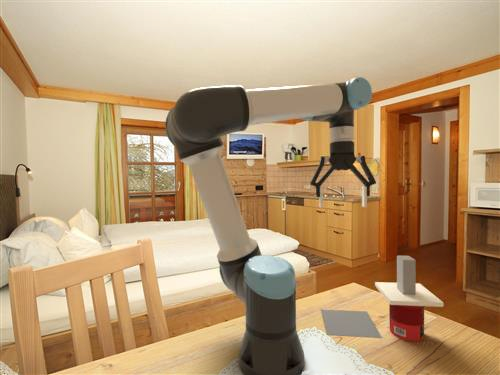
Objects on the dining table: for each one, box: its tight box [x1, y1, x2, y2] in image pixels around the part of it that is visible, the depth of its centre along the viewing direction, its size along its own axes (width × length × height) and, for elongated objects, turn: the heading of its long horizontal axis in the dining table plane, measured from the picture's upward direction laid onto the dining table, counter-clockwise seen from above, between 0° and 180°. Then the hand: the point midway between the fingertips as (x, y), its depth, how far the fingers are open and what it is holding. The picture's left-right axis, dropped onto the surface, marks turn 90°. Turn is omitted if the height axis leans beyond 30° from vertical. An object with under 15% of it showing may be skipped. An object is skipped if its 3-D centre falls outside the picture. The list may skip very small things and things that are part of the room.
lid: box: [374, 255, 445, 308], centre depth 72 cm, size 12×12×10 cm
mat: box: [319, 309, 383, 339], centre depth 78 cm, size 14×14×1 cm
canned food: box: [388, 303, 425, 343], centre depth 72 cm, size 8×8×11 cm
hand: (342, 207), depth 89 cm, fingers open, 13 cm apart
